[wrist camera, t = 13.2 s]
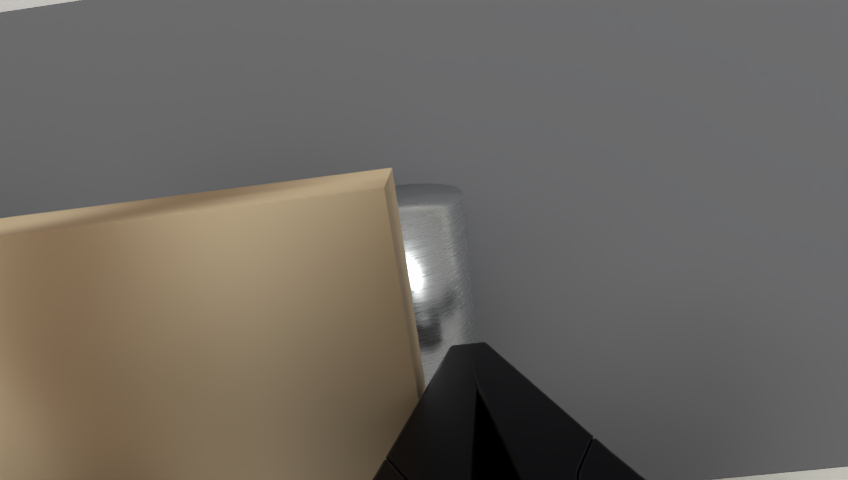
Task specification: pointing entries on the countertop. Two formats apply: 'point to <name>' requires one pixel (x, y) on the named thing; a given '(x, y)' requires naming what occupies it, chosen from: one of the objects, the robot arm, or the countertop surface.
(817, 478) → the countertop surface
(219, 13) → the rubber mat
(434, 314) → the cylinder
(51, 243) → the oak slab
